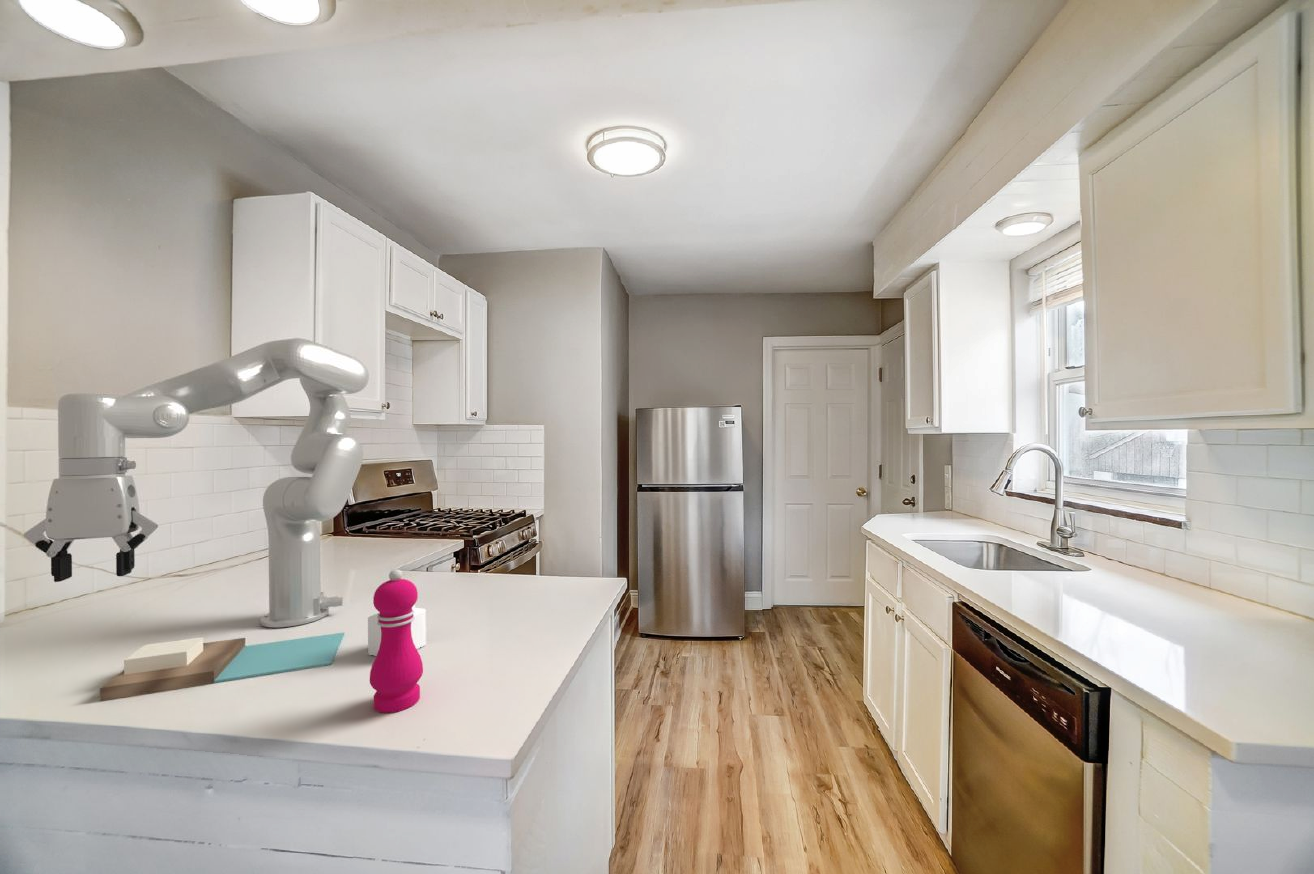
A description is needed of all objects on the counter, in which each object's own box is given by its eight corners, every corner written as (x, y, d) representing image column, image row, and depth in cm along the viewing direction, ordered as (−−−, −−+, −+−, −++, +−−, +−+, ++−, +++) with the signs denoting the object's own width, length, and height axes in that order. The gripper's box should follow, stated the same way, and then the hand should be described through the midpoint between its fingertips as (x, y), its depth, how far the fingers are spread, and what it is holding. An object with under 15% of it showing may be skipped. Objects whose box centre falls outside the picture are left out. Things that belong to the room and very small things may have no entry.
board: (245, 647, 101) (245, 637, 101) (214, 682, 87) (214, 670, 87) (150, 661, 96) (150, 650, 96) (100, 700, 81) (100, 687, 81)
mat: (344, 634, 108) (344, 632, 108) (331, 664, 93) (331, 662, 93) (242, 648, 101) (242, 646, 101) (210, 683, 86) (210, 681, 86)
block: (203, 650, 95) (203, 637, 95) (186, 665, 89) (186, 651, 89) (145, 658, 92) (145, 644, 92) (124, 674, 86) (124, 659, 86)
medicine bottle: (427, 645, 101) (426, 583, 101) (397, 660, 95) (396, 593, 95) (398, 641, 104) (397, 580, 104) (367, 655, 97) (366, 590, 97)
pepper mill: (382, 692, 83) (380, 564, 83) (430, 689, 83) (428, 562, 83) (360, 716, 75) (358, 576, 75) (413, 713, 76) (411, 574, 76)
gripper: (170, 466, 94) (172, 566, 94) (35, 469, 87) (36, 578, 87) (150, 468, 87) (151, 576, 87) (1, 472, 80) (3, 589, 80)
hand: (94, 576), depth 87 cm, fingers open, 6 cm apart
